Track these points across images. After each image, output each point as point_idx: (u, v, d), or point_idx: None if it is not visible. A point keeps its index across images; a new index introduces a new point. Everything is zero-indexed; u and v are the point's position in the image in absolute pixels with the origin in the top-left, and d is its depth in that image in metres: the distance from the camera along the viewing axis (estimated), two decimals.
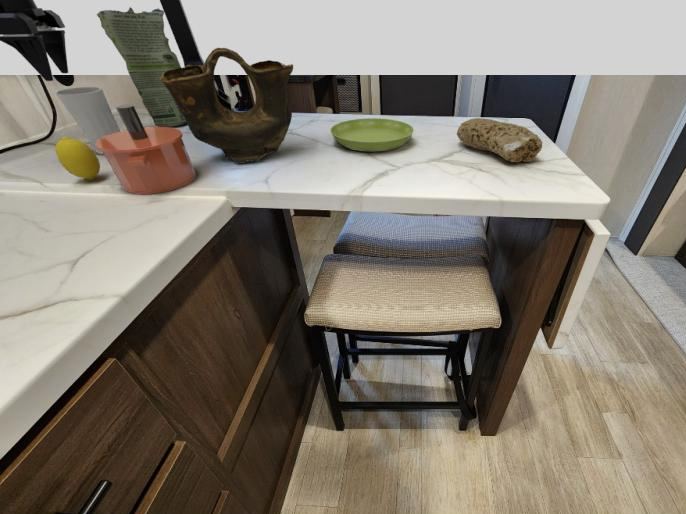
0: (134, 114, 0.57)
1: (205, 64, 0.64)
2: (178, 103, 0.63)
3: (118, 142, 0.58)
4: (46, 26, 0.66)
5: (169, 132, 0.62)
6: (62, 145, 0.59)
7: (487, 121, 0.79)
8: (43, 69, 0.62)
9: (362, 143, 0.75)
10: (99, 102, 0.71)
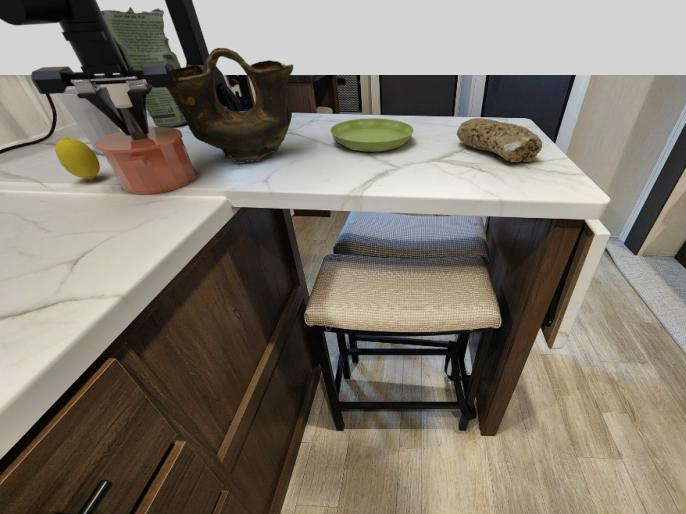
0: (134, 114, 0.57)
1: (205, 64, 0.64)
2: (178, 103, 0.63)
3: (118, 142, 0.58)
4: (129, 84, 0.54)
5: (169, 132, 0.62)
6: (62, 145, 0.59)
7: (487, 121, 0.79)
8: None
9: (362, 143, 0.75)
10: None
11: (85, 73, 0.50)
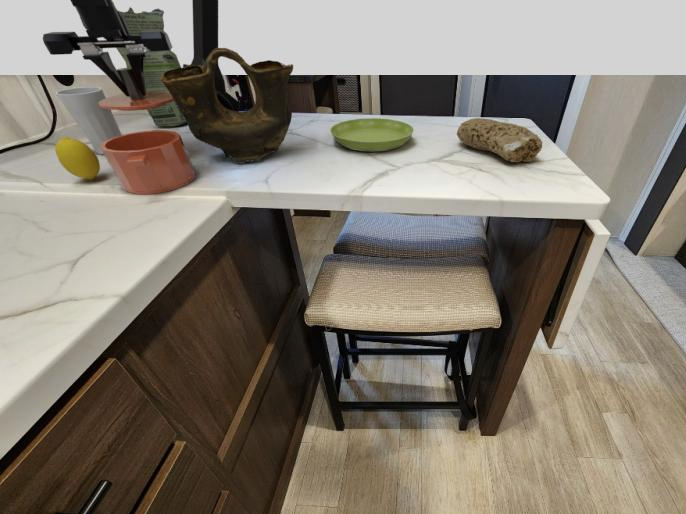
0: (133, 76, 0.64)
1: (205, 64, 0.64)
2: (178, 103, 0.63)
3: (119, 101, 0.65)
4: (129, 48, 0.61)
5: (164, 95, 0.69)
6: (62, 145, 0.59)
7: (487, 121, 0.79)
8: None
9: (362, 143, 0.75)
10: None
11: (90, 36, 0.57)
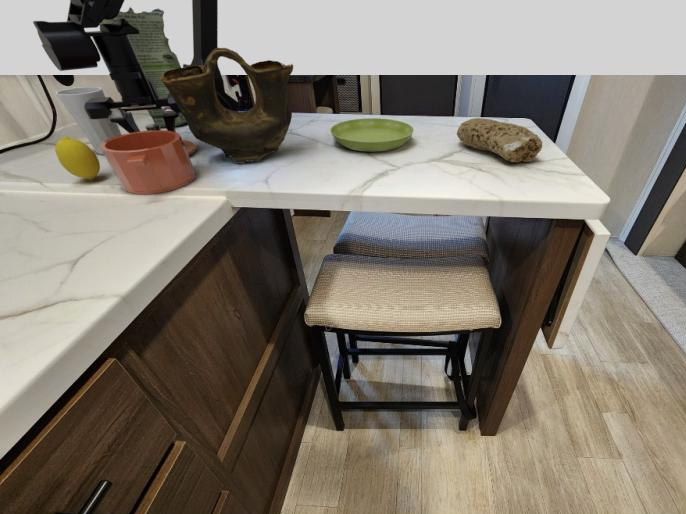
0: None
1: (205, 64, 0.64)
2: (178, 103, 0.63)
3: None
4: (164, 109, 0.70)
5: (186, 145, 0.77)
6: (62, 145, 0.59)
7: (487, 121, 0.79)
8: None
9: (362, 143, 0.75)
10: None
11: (124, 103, 0.66)
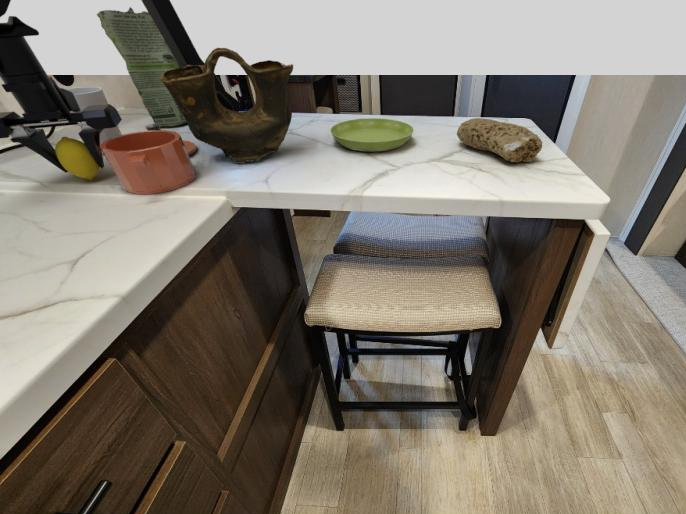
0: None
1: (205, 64, 0.64)
2: (178, 103, 0.63)
3: None
4: (81, 125, 0.59)
5: (186, 145, 0.77)
6: (62, 145, 0.59)
7: (487, 121, 0.79)
8: None
9: (362, 143, 0.75)
10: (99, 102, 0.71)
11: (27, 119, 0.55)
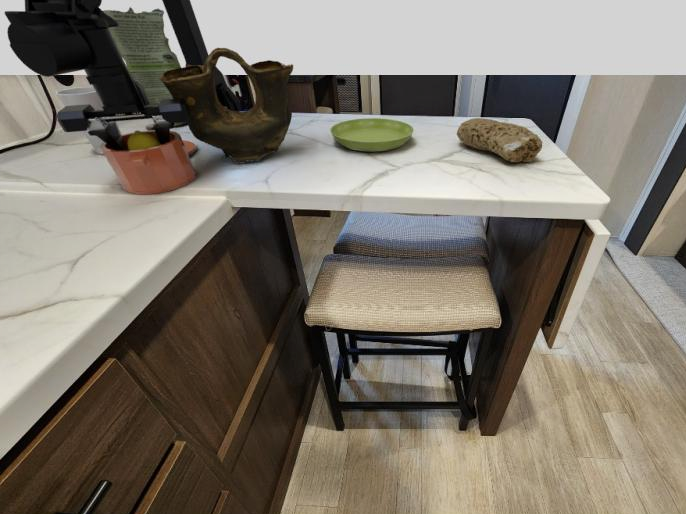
0: None
1: (205, 64, 0.64)
2: None
3: None
4: (156, 119, 0.58)
5: (186, 145, 0.77)
6: (135, 139, 0.59)
7: (487, 121, 0.79)
8: None
9: (362, 143, 0.75)
10: (99, 102, 0.71)
11: (106, 112, 0.54)
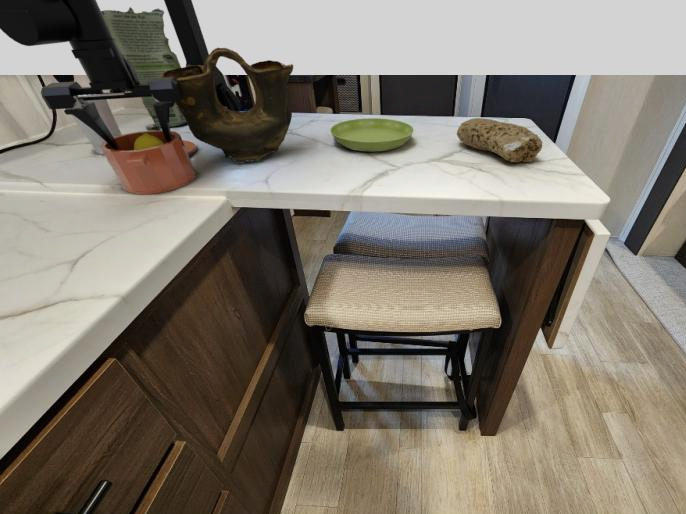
0: None
1: (205, 64, 0.64)
2: (178, 103, 0.63)
3: None
4: None
5: (186, 145, 0.77)
6: (143, 141, 0.59)
7: (487, 121, 0.79)
8: None
9: (362, 143, 0.75)
10: (99, 102, 0.71)
11: (93, 89, 0.52)
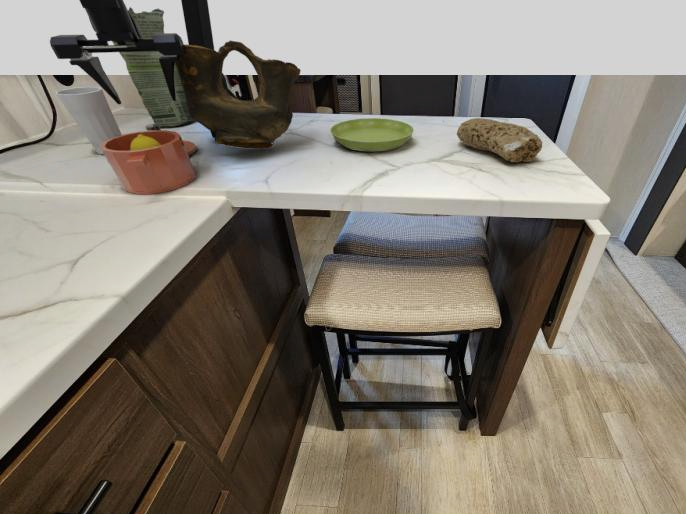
0: None
1: None
2: (181, 74, 0.65)
3: None
4: None
5: (186, 145, 0.77)
6: (138, 143, 0.59)
7: (487, 121, 0.79)
8: None
9: (362, 143, 0.75)
10: (99, 102, 0.71)
11: (100, 40, 0.54)
